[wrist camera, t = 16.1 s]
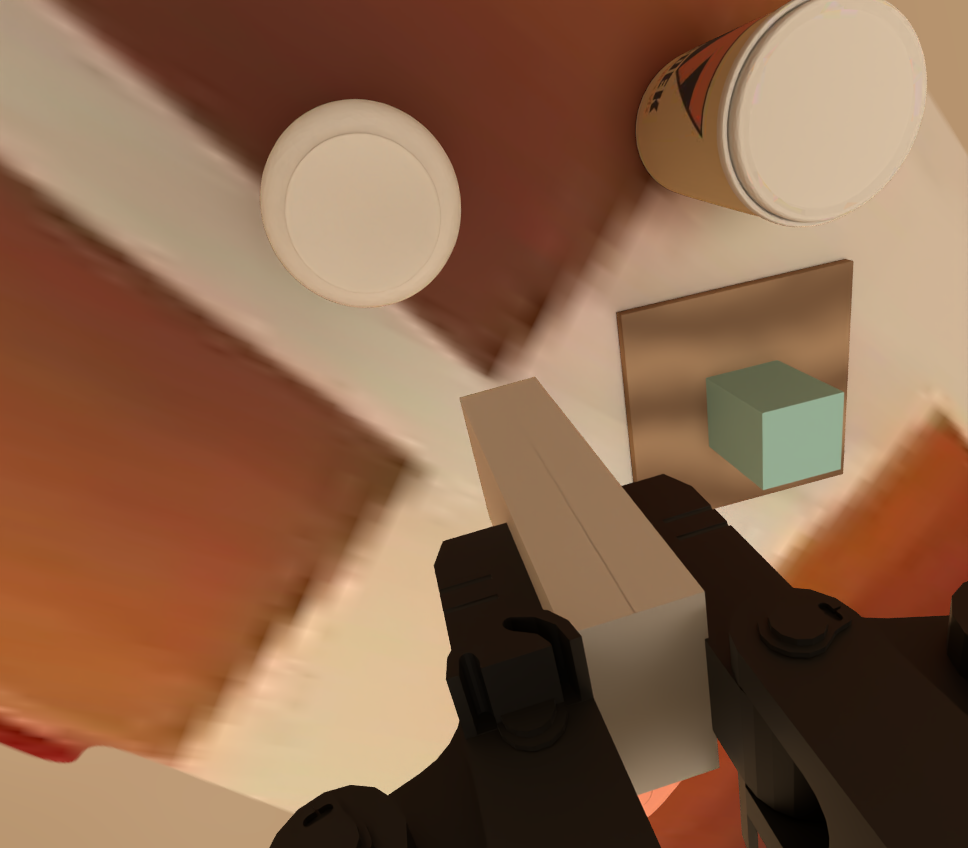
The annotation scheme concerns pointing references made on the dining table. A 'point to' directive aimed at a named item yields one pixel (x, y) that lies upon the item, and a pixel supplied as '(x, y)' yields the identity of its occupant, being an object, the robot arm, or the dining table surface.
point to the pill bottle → (360, 203)
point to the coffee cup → (789, 112)
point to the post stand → (726, 366)
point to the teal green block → (775, 423)
